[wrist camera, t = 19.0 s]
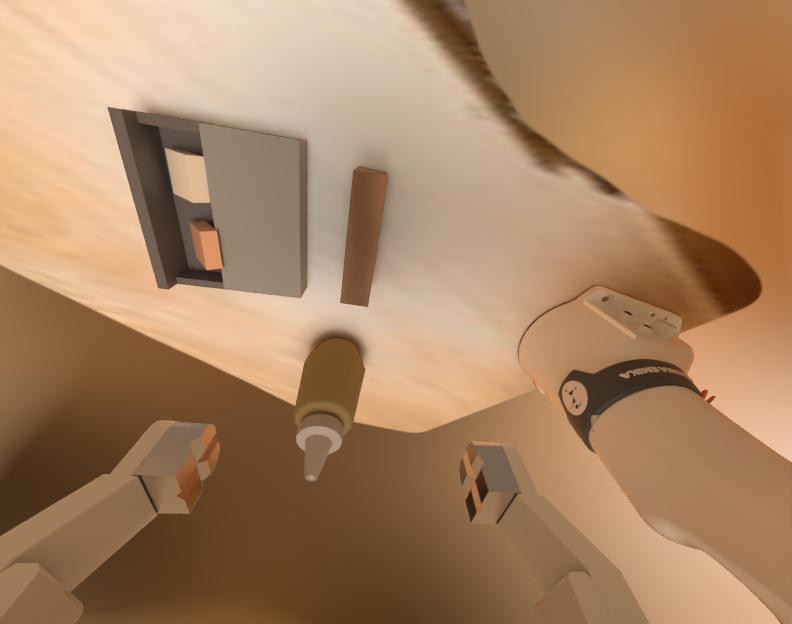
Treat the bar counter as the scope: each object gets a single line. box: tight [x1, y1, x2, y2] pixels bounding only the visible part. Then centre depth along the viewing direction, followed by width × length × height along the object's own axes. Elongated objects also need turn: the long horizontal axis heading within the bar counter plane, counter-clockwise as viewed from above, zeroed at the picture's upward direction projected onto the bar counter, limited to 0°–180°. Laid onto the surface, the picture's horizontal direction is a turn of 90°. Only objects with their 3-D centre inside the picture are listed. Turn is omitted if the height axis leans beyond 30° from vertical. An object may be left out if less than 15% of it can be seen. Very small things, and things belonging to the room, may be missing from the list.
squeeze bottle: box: [294, 338, 365, 481], centre depth 33 cm, size 8×8×18 cm
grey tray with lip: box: [108, 107, 307, 298], centre depth 29 cm, size 14×16×4 cm
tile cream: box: [165, 148, 210, 203], centre depth 27 cm, size 4×4×2 cm
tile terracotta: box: [189, 221, 223, 270], centre depth 30 cm, size 4×4×2 cm
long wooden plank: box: [340, 167, 388, 307], centre depth 30 cm, size 3×13×6 cm, turn 169°
